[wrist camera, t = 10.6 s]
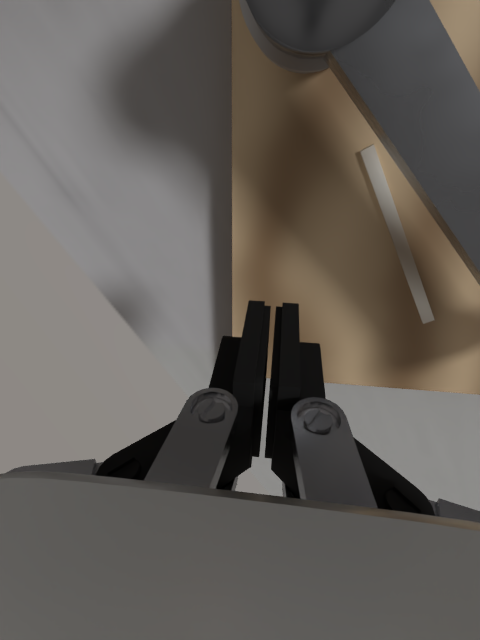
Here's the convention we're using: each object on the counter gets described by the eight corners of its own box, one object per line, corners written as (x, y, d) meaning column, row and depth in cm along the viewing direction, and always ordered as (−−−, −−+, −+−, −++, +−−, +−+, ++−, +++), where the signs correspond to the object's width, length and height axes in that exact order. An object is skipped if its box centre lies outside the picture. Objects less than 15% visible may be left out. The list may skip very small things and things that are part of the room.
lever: (216, -29, 11) (195, -66, 9) (333, -190, 10) (351, -299, 7) (519, 385, 19) (558, 434, 16) (620, 339, 17) (685, 388, 14)
